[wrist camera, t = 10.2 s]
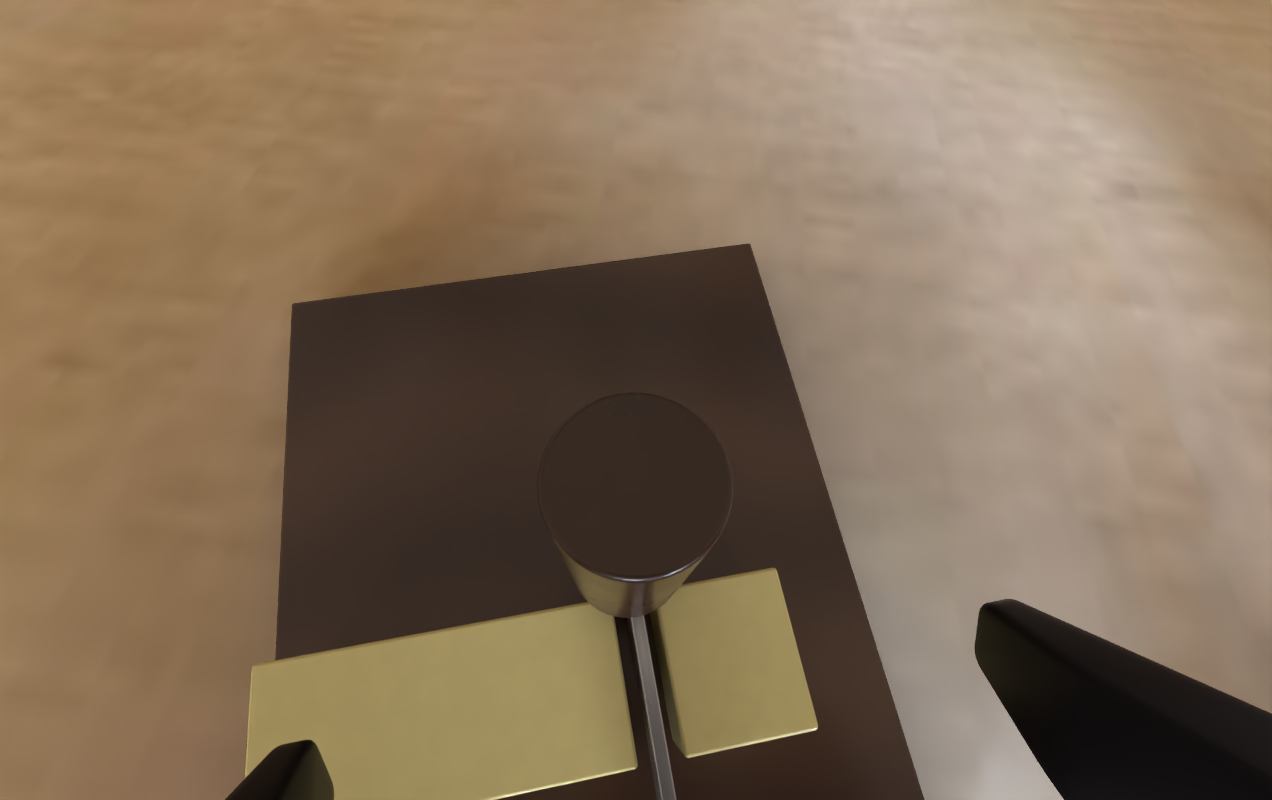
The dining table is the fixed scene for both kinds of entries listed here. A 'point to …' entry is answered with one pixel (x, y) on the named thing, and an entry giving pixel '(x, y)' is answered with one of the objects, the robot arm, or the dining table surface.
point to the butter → (455, 708)
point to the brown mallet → (635, 518)
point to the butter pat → (731, 664)
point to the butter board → (508, 499)
